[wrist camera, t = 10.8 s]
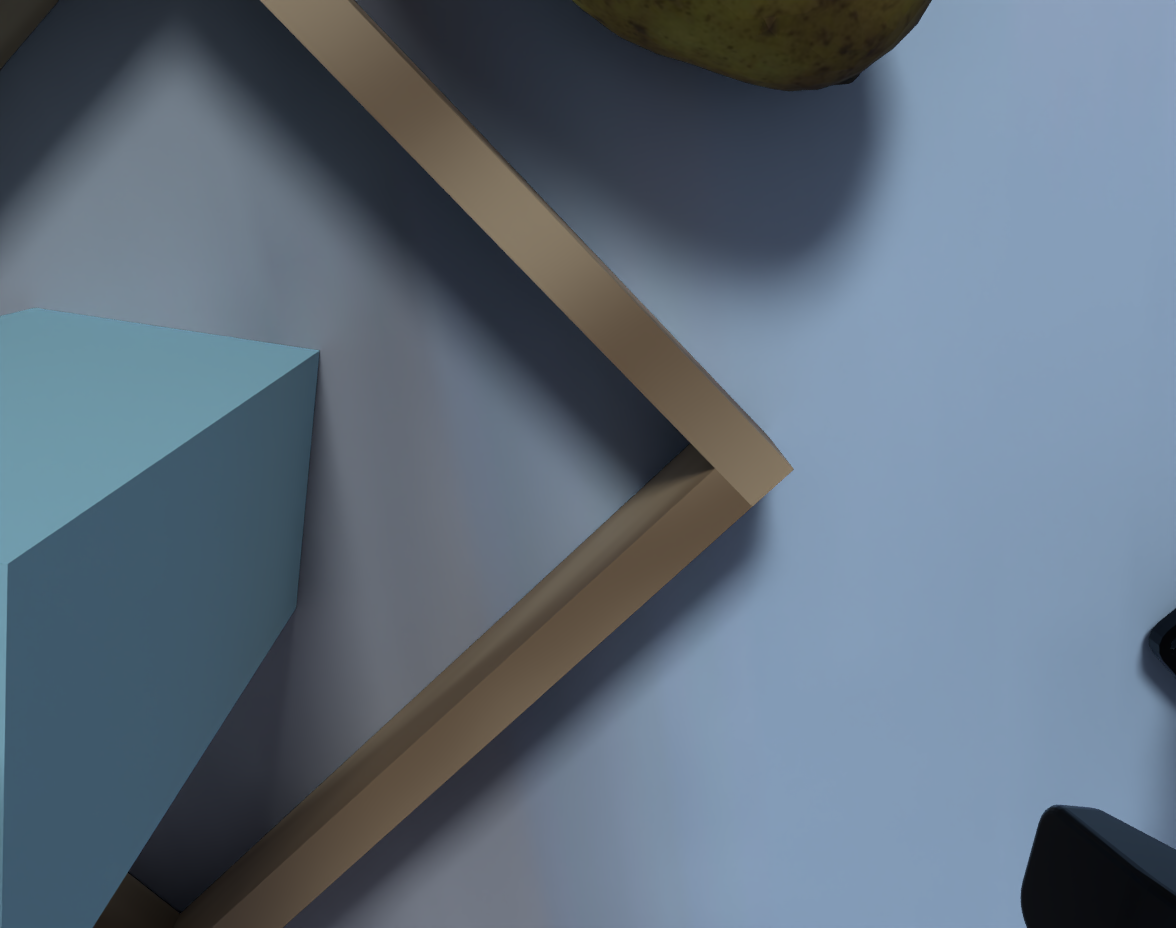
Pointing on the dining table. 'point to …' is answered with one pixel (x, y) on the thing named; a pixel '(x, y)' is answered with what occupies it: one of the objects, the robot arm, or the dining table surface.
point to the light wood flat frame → (568, 593)
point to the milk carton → (131, 580)
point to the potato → (765, 35)
